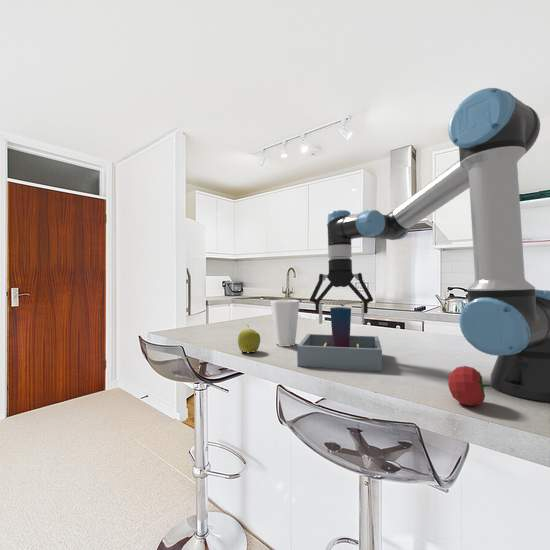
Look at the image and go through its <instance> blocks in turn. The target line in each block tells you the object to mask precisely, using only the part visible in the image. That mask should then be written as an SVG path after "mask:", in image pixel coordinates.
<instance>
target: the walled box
mask: <svg viewBox="0 0 550 550" xmlns="http://www.w3.org/2000/svg"><path fill="white" fill-rule="evenodd" d="M296 346H297V347H296V350H297V351H296V352H297V353H296V354H297V355H296V356H297V357H296V358H297V366H298V365H299V366H298V367H301V366H312V367H311V368H318V367H322V368H323V369H335V370H337V369H339V370H357V371H373V372H375V371H376V372H383V348H382V345H381V342H380V338H379V335H351V334H350V345H349V347H333V339H332V334H323V333H322V334H321V333H318V334H317V333H307V334H306V335H305V336H304V337H303V338H302V340H301V341H300V342H299V344H298V345H296ZM322 368H321V369H322Z"/></svg>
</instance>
